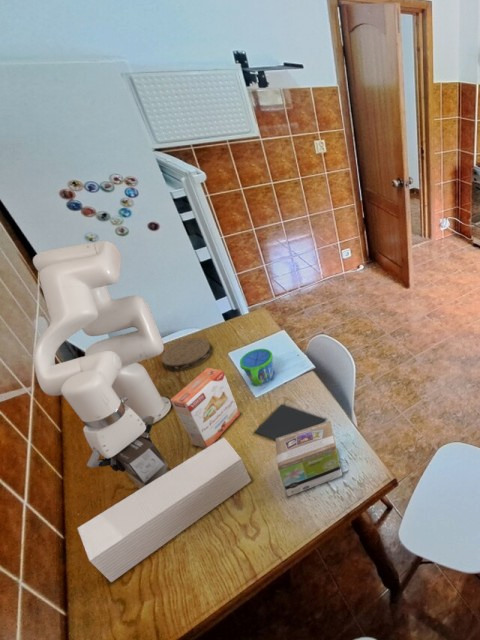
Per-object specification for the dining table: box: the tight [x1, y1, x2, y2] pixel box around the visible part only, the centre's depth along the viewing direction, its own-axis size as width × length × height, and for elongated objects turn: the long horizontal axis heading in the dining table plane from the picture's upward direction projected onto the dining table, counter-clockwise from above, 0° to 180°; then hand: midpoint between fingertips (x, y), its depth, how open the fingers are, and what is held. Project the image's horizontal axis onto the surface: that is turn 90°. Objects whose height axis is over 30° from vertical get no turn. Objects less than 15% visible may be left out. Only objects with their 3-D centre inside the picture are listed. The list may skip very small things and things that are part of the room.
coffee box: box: [117, 436, 172, 489], centre depth 105 cm, size 9×6×16 cm
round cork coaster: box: [160, 337, 212, 372], centre depth 153 cm, size 16×16×3 cm
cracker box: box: [169, 367, 241, 449], centre depth 121 cm, size 14×6×21 cm, turn 168°
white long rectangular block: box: [77, 437, 252, 583], centre depth 101 cm, size 32×11×11 cm, turn 142°
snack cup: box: [239, 348, 274, 387], centre depth 143 cm, size 16×10×10 cm
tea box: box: [274, 420, 343, 497], centre depth 111 cm, size 15×10×15 cm, turn 117°
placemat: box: [254, 404, 326, 441], centre depth 128 cm, size 18×12×1 cm, turn 72°
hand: (134, 457), depth 105 cm, fingers closed on coffee box, 6 cm apart
